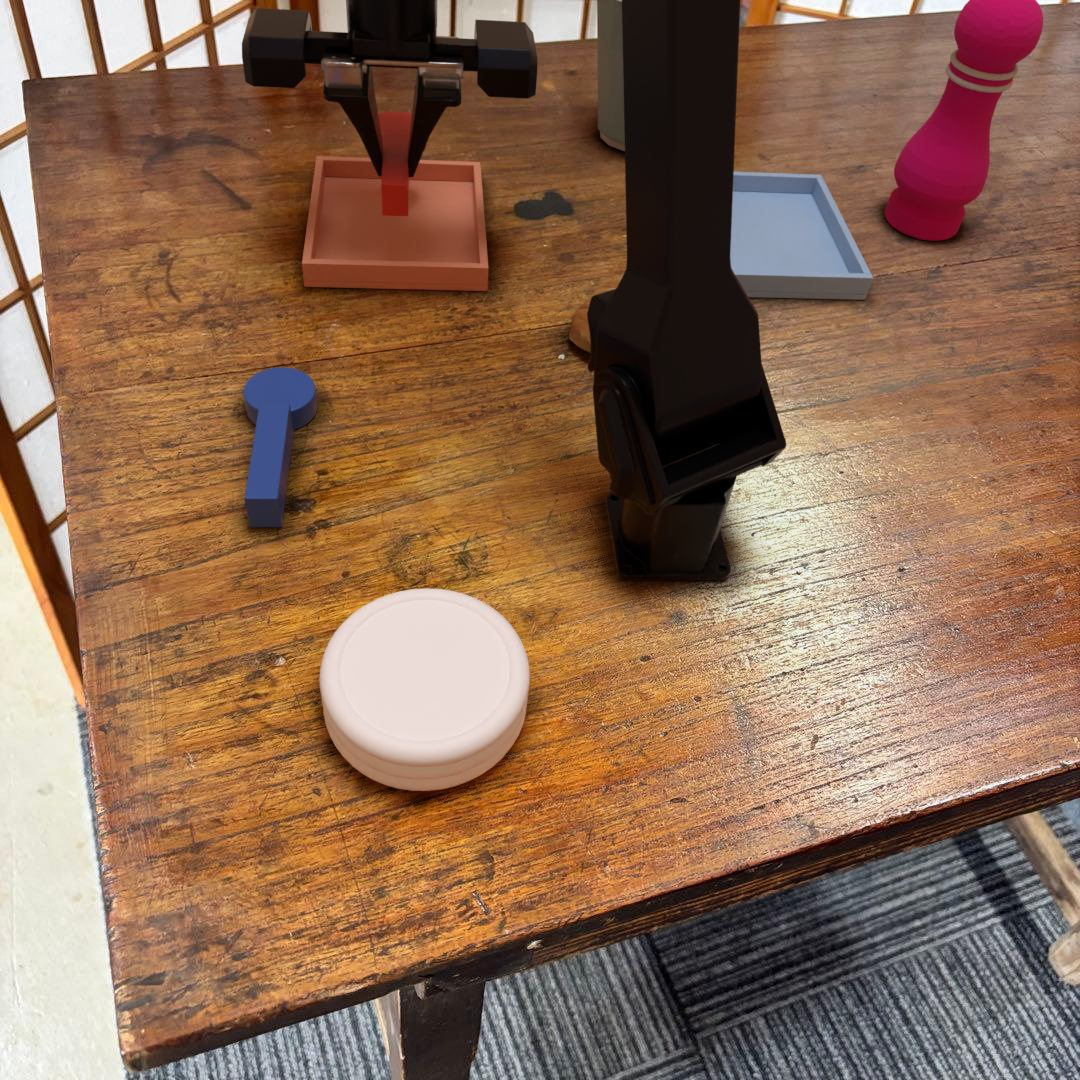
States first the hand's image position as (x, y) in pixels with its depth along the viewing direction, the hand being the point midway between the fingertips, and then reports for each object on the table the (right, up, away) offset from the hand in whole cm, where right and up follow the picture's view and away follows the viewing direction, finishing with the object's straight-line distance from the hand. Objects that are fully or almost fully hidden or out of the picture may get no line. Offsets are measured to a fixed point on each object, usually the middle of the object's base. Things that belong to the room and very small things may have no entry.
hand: (396, 174), depth 73 cm
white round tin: (+5, -35, -22) cm, 41 cm away
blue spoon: (-6, -21, -11) cm, 24 cm away
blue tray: (+28, -2, +9) cm, 30 cm away
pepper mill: (+43, +1, +14) cm, 45 cm away
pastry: (+17, -11, 0) cm, 21 cm away
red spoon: (0, +1, +2) cm, 2 cm away
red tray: (-1, -2, +6) cm, 6 cm away
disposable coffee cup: (+19, +10, +20) cm, 29 cm away
